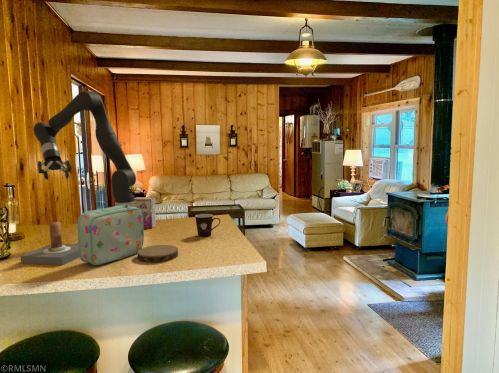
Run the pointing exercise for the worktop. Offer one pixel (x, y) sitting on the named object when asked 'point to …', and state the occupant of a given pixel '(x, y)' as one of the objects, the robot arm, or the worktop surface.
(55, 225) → the handle
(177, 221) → the worktop surface
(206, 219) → the coffee mug
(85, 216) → the lunch box
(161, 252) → the wood slice
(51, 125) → the robot arm
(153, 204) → the candy bar box
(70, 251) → the plate
